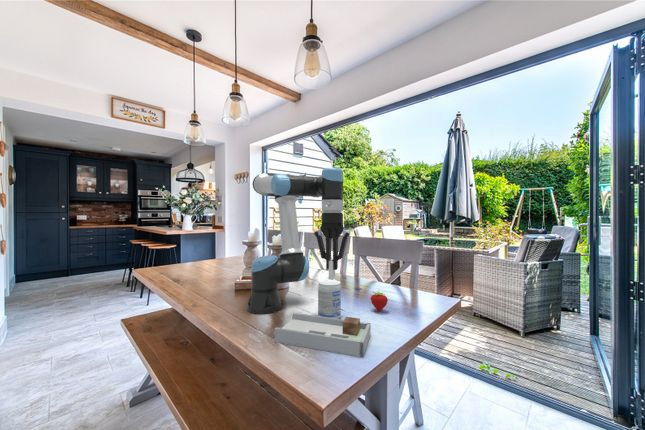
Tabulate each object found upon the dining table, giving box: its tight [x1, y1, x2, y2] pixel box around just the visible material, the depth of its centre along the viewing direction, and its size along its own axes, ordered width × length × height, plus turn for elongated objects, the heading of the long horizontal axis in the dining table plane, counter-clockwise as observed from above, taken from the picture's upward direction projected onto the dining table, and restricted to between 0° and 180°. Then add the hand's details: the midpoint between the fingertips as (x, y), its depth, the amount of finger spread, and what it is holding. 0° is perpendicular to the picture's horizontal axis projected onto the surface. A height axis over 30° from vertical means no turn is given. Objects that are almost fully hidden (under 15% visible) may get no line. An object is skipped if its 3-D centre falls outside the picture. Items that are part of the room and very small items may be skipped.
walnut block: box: [343, 316, 361, 336], centre depth 93 cm, size 5×5×4 cm
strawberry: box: [370, 291, 389, 313], centre depth 119 cm, size 6×8×10 cm
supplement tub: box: [317, 279, 342, 319], centre depth 113 cm, size 10×10×15 cm
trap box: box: [274, 312, 372, 358], centre depth 93 cm, size 30×15×4 cm, turn 71°
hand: (331, 278), depth 95 cm, fingers closed
